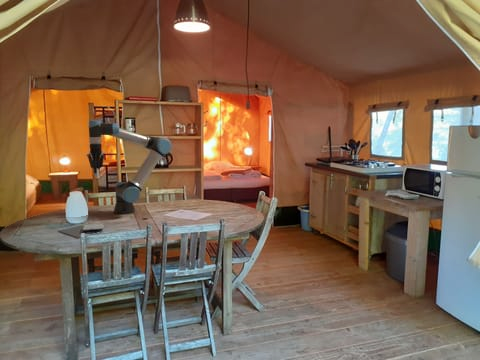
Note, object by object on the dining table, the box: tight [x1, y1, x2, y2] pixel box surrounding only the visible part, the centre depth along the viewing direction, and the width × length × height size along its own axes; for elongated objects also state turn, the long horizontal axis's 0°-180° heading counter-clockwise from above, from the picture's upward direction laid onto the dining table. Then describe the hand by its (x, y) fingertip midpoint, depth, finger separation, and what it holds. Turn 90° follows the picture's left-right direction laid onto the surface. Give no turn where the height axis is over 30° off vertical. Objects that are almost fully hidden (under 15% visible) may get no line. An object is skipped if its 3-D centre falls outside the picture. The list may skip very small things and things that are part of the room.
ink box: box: [83, 223, 104, 232], centre depth 231 cm, size 12×2×12 cm
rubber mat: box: [57, 224, 103, 239], centre depth 230 cm, size 16×22×1 cm
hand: (97, 178), depth 254 cm, fingers closed
